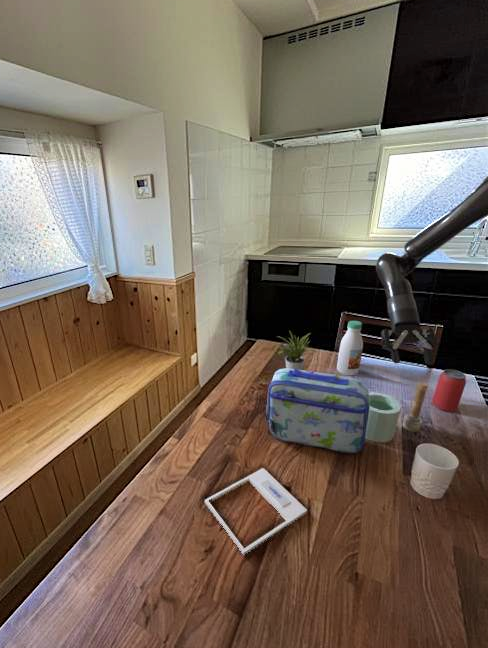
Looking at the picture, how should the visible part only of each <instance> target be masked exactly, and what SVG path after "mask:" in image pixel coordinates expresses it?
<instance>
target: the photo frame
mask: <svg viewBox="0 0 488 648" xmlns="http://www.w3.org/2000/svg"><path fill="white" fill-rule="evenodd" d="M247 481H248V482H249V483H250V485H251V486H252V487H253V488H254V487H255V488H254V489H255V490H256V491H257V492H258V493H259V494H260V496H261V497H263V498H264V499H265V500H266V502H268V504H269V505H270V504H271V505H272V506H273V507H274V508H275V509H276V510H277V511H278V512H277V511H276V510H275V509H274V508H273V507H272V506H271V505H270V506H271V507H272V508H273V509H274V510H275V511H276V512H277V514H279V513H280V514H279V516H281V517H282V519H283V520H285V521H283V522H282V523H280V524H278V525H277V526H276V527H274V528H273V529H271V530H270V531H268V532H267V533H265V534H264V535H262V536H261V537H259V538H257V539H256V540H255V541H253V542H252V543H250V544H249V545H247V546H246V547H244V546H243V545H242V544H241V542H240V541H239V540H238V538H237V537H236V536H235V534H234V533H233V532H232V530H231V529H230V527H229V525H227V523H226V522H225V521H224V519H223V518H222V517H221V516H220V514H219V512H217V510H216V509H215V507H214V506H213V505H212V504H211V502H209V500H211V499H212V502H214V501H215V499H216V500H218V499H220V498H221V497H223V496H224V494H225V495H227V494H228V493H230V492H231V490H232V491H234V490H235V489H237V488H239V487H240V485H241V486H242V485H244V484H246V483H248V482H247ZM238 486H239V487H238ZM229 491H230V492H229ZM227 492H228V493H227ZM222 495H223V496H222ZM204 504H205V506H206V507H207V508H208V510H209V509H210V510H209V511H210V512H211V514H212V513H213V514H212V515H213V517H214V518H215V517H216V518H215V519H216V520H217V522H218V521H219V522H218V523H219V524H221V525H222V526H223V527H222V526H221V525H220V526H221V527H222V529H223V528H224V529H225V530H226V531H225V530H224V529H223V530H224V531H225V533H226V532H227V533H228V534H227V533H226V534H227V536H228V537H229V536H230V537H229V538H230V539H232V540H233V541H232V540H231V541H232V542H233V543H235V544H236V545H237V546H236V545H235V544H234V545H235V546H236V548H237V547H238V548H239V549H238V548H237V549H238V550H239V552H240V551H241V552H240V553H241V555H242V554H243V555H242V556H243V557H244V556H246V555H247V554H249V553H250V552H251V550H252V549H253V550H254V549H256V548H258V547H259V546H260V545H262V544H263V543H265V542H266V541H268V540H269V539H270V538H269V537H271V536H272V537H274V536H275V535H276V534H275V533H277V532H278V531H280V530H281V529H283V528H284V527H286V526H287V525H288V526H290V525H291V524H293V523H294V522H296V521H297V520H299V519H300V518H302V517H303V516H305V515H307V514H308V509H307V508H306V507H305V506H303V504H301V502H299V501H298V500H297V499H296V498H295V497H294V495H292V494H291V493H290V492H289V491H288V490H287V489H286V488H285V487H284V486H283V485H282V484H281V483H280V482H279V481H277V480H276V479H275V478H274V477H273V476H272V475H271V474H270V473H269V472H268V471H267V470H266V469H265V468H264V467H262V468H260V469H257V470H256V471H254V472H253V473H251V474H249V475H247V476H245V477H244V478H242V479H240V480H238V481H236V482H234V483H233V484H231V485H229V486H227V487H226V488H224V489H221V490H220V491H218V492H216V493H214V494H213V495H211V496H209V497H207V498H206V499H204ZM298 518H299V519H298ZM295 520H296V521H295ZM292 522H293V523H292ZM289 524H290V525H289ZM288 526H287V527H288ZM287 527H286V528H287ZM284 529H285V528H284ZM284 529H283V530H284ZM281 531H282V530H281ZM281 531H280V532H281ZM278 533H279V532H278ZM278 533H277V534H278ZM274 534H275V535H274ZM273 535H274V536H273ZM272 537H271V538H272ZM268 538H269V539H268ZM267 539H268V540H267ZM265 540H266V541H265ZM264 541H265V542H264ZM262 542H263V543H262ZM261 543H262V544H261ZM259 544H260V545H259ZM258 545H259V546H258ZM255 547H256V548H255ZM253 550H252V551H253ZM248 552H249V553H248ZM246 553H247V554H246ZM245 554H246V555H245Z"/></svg>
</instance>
